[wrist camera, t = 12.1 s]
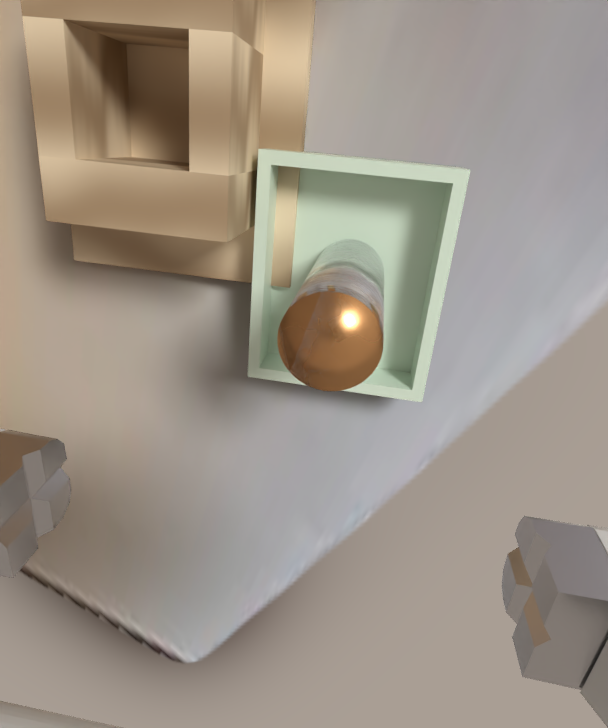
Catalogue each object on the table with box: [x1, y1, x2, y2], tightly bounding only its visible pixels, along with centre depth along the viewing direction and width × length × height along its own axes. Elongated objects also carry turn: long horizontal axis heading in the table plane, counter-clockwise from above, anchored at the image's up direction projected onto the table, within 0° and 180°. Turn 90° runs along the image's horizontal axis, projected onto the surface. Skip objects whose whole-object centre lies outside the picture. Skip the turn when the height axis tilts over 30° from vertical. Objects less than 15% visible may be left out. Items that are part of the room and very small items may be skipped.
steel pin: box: [277, 239, 384, 391], centre depth 22 cm, size 4×4×10 cm
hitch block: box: [21, 0, 316, 288], centre depth 22 cm, size 16×12×6 cm
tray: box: [248, 149, 470, 402], centre depth 25 cm, size 11×9×3 cm
